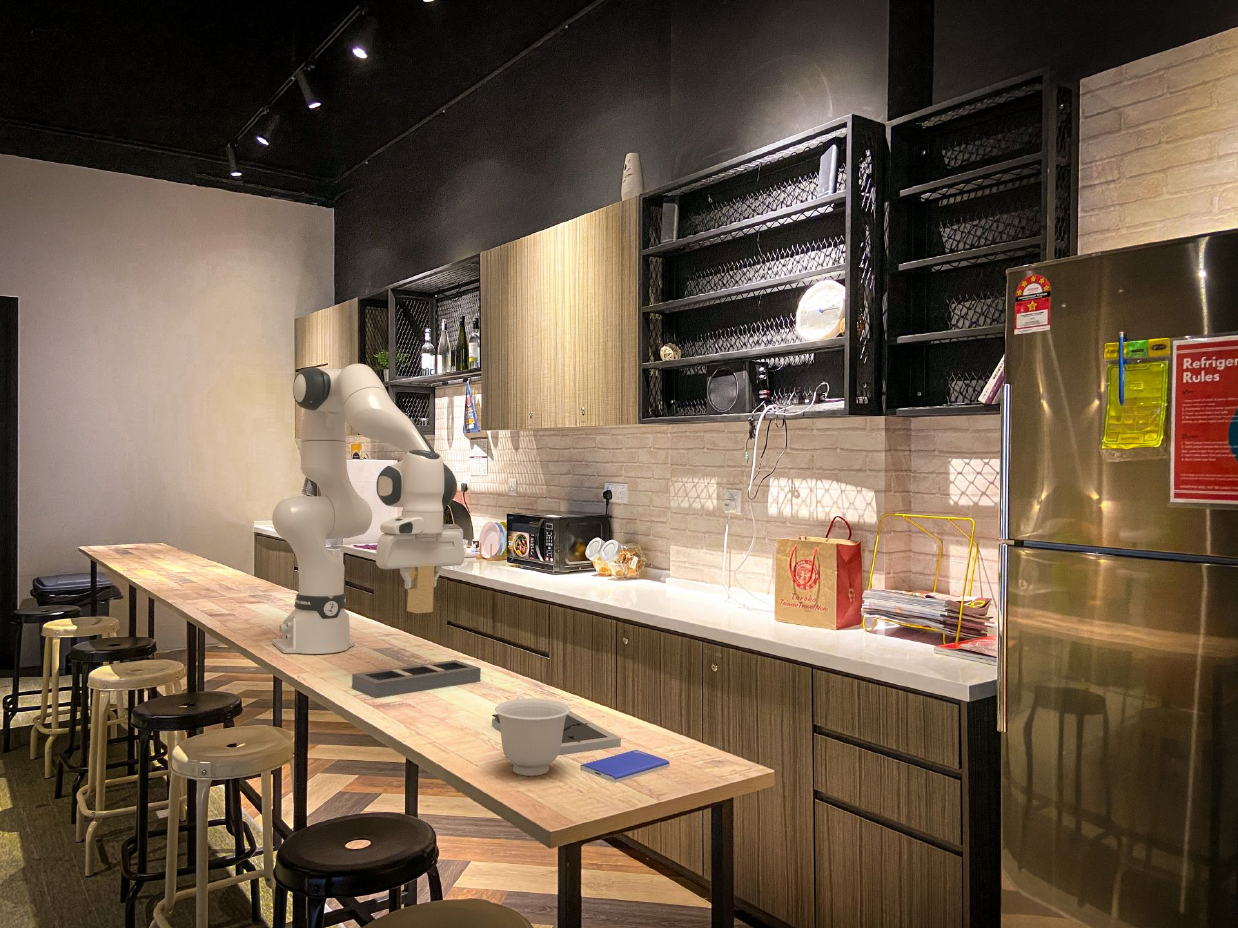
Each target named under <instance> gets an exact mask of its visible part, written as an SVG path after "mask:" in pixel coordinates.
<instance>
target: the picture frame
mask: <svg viewBox="0 0 1238 928" xmlns="http://www.w3.org/2000/svg"><path fill="white" fill-rule="evenodd" d="M491 716H492V717H493V718H492V719H491V727H493V728H494V729H496V730H497V731H499V732H500V733H501V726H500V719H499V715H498V714H496V713H495V714H492V715H491ZM621 741H622V738H621V737H619V736H618V735H616V734H614V733H611V732H610V731H608V730H607V729H605V728H603V727H601V726H599V725H598V724H595V723H594V722H592V721H590V720H587V719H586V718H584V717H582V716H580V715H579V714H577V713H575V712H573V711H571V710H570V712H569V713H568V714H567V716H566V719H565V723H564V729H563V736H562V743H561V748H560V752H559V754H558V756H563V755H570V754H571V755H573V754H577V753H584V752H585V753H586V752H591V751H598V750H599V751H600V750H607V749H614V748H619V747H621V744H622V742H621Z"/></svg>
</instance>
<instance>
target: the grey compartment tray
mask: <svg viewBox="0 0 1238 928" xmlns="http://www.w3.org/2000/svg"><path fill="white" fill-rule="evenodd" d="M481 672H482V668H481V667H479V666H477V665H472V664H470V663H467V662H463V661H460V660H458V659H457V660H456V659H451V660H445V661H437V662H431V663H424V664H414V665H408V666H400V667H393V668H386V669H385V668H384V669H378V670H372V671H364V672H357V673H355V672H354V673H352V674H351V675H352V676H351V677H352V679H351V689H354V690H356V691H358V692H360V693H362V694H365V695H368V696H370V697H372V698H375V699H377V698H383V697H389V696H396V695H402V694H408V693H410V694H411V693H415V692H422V691H423V692H424V691H427V690H428V691H429V690H434V689H441V688H447V687H453V686H460V685H466V684H472V683H473V684H474V683H478V682H481V675H482V674H481Z"/></svg>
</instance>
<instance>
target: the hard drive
mask: <svg viewBox="0 0 1238 928" xmlns="http://www.w3.org/2000/svg"><path fill="white" fill-rule="evenodd" d="M669 767H670V761H669V760H668V759H665V758H663V757H660V756H657V755H653V754H650V753H648V752H645V751H641V750H638V749H633V750H629V751H626V752H622V753H619V754H615V755H611V756H608V757H603V758H601V759H598V760H597V759H596V760H593V761H590V762H587V763H583V764H582V763H581V764H580V767H579V769H580V771H583V772H585V773H587V774H591V775H593V776H596V777H599V778H601V779H603V780H606V781H609V782H611V783H615V784H617V783H621V782H623V781H627V780H630V779H634V778H638V777H640V776H643V775H646V774H650V773H654V772H656V771H660V770H664V769H666V768H667V769H668V768H669Z"/></svg>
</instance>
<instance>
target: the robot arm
mask: <svg viewBox="0 0 1238 928" xmlns="http://www.w3.org/2000/svg"><path fill="white" fill-rule="evenodd" d="M292 395H293V399H294V401H295V402H296V404H297V406H298V407H300V408H302V409H304V410H303V414H302V415H303V416H302V420H301V429H300V470H301V472H302V474H303V476H305V478H307V479H308V480H310V481H312V482H313V483H315V484H316V486H318V489H319V491H320V496H318V495H316V496H315V495H314V496H313V495H309V496H306V495H305V496H304V495H302V496H294V497H289V498H285V499H282V500H280V501H279V502H278V503H277V504H276V506H275V508H274V510H273V512H272V516H271V517H272V521H271V522H272V525H273V528H274V531H275V532H276V534H278V536H279V537H280V538H282V539H283V540H285V542H287V544H288V545H289V546H290V547H291V549H292V551H293V553H294V555H295V558H296V562H297V568H298V593H297V594H295V596H296V597H295V600H294V606H293V607H294V609H293V610H292V612H290V613H289V615H287V617H286V618H285V619H284V620H283V623H280V624H279V629H278V630H279V634H281V637H277V638H274V639H272V644H273V645H274V646H275V647H276V648H277V649H278V650H279V651H281V653H283V654H303V655H306V654H307V655H322V654H334V653H340V652H344V651H347V650H348V649H349V648H351V647H354V646H355V640H351V627H350V626H351V625H350V624H351V623H350V615H349V613H348V612H347V611H346V610H345V607H346V601H347V599H346V593H345V569H346V568H345V567H346V566H345V564H344V563H343V560H342V559H341V558H340V557H338V555H335V554H333V553H332V552H329V550H328V548H327V543H326V540H333V539H334V540H335V539H336V540H337V539H340V540H341V539H349V538H350V539H351V538H354V537H358V536H361V535H364V534H366V533H367V532H368V531H369V529H370V527H371V524H372V521H373V512H372V509H371V506H370V504H369V503H368V502H367V501H366V500H365V499H364V498H363V497H362V496H360V494H358V492H357V491H356V490H355V488H354V486H353V484H352V482H351V480H350V479H351V478H350V476H349V472H348V465H347V434H346V422H348V423H349V425H350V426H351V428H352V429H353V430H354V431H355V432H356V433H357V434H359V435H360V436H362V437H364V438H367V439H370V440H374V441H378V442H382V443H385V444H389V445H391V446H393V447H396V448H398V449H400V450H402V452H404V453H405V456H404V458H402V460H400V461H398V462H395V463H394V464H391V465H387V466H386V467H384V468H383V469H382V470H381V471H380V472H379V474H378V476H377V479H376V494H377V496H378V498H379V500H380V501H381V502H382V503H383V504H384V505H385V506H387V507H391V508H402V513H401V514H402V515H400V516H397V517H394V518H392V519H389V520H386V521H383V522H382V523H380V532H381V533H382V534H381V535H380V536H379V537H378V540H377V545H376V552H375V564H376V566H378V568H379V569H382V570H399V571H400V572H399V574H400V576H401V577H402V579H403V580H404V589H406V590H408V589H414V587H415V586H414V584H415V581H413V580H411V578H410V576H409V574H408V573H411V568H417V567H422V566H434V588H437V580H438V578H439V577H440V575H441V574H442V570H443V567H449V566H450V567H451V566H452V567H453V566H456V567H457V566H462V564H464V561H465V550H464V549H465V548H464V530H463V528H462V527H461V526H459V525H458V524H457V523H452V524H451V523H450V524H449V523H444V509H445V508H446V507H447V506H449V505H450V504H451V503H452V502H453V500H454V498H455V497H456V494H457V492H458V482H457V478H456V476H455V474H454V472H453V471H452V470H451V469H450V467H449V466H448V465H446V463H444V462H443V457H442V455H440V454H439V453H437V452H436V451H435V449H434V448H433V447H432V445H431V444H430V442H429V440H428V439H427V437H426V436H425V434H424V433H423V432H422V430H421V429H420V428H419V426H418V425H417V424H416V423H415V421H414V420H413V419H412V418H410V417H408V416H407V415H406V414H405V413H404V412H403V411H401V409H400V408H398V406H397V405H396V403H395V402H393V400H392V399H391V397H390V395H389V393H388V392H387V389H386V387H385V385H384V384H383V382H382V380H381V379H380V378H379V376H378V375H377V374H376V372H375V371H374V370H373V369H372V368H371V367H370V366H369V365H366V364H363V363H352V364H350V365H347V366H345V367H344V368H342V367H341V368H319V367H316V366H315V367H308V368H307V367H306V368H303V369H301V370H300V371H299V372H298V373H297V374H296V376H295V378H294V381H293V384H292Z"/></svg>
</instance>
